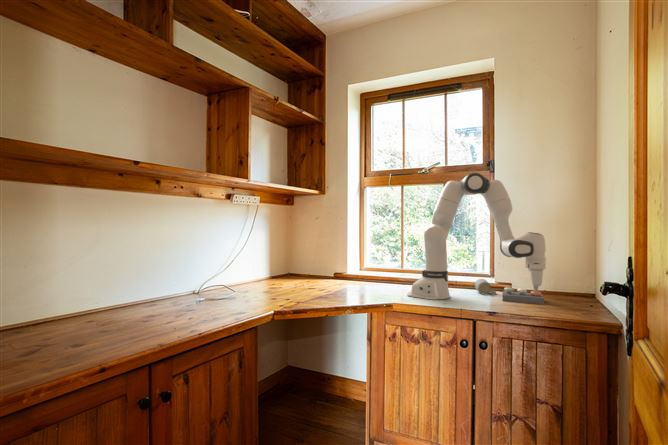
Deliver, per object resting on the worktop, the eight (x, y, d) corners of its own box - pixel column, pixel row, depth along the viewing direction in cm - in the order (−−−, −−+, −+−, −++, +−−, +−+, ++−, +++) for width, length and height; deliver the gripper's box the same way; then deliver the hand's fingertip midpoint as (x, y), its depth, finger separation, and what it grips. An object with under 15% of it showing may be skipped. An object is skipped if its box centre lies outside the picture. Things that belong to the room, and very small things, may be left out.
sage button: (504, 296, 176) (504, 288, 176) (504, 295, 180) (504, 287, 180) (513, 297, 174) (513, 289, 174) (513, 295, 178) (513, 287, 178)
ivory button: (517, 297, 174) (517, 289, 174) (517, 296, 177) (517, 287, 177) (527, 298, 172) (527, 290, 172) (526, 297, 175) (526, 288, 175)
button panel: (502, 300, 173) (502, 295, 173) (502, 296, 184) (502, 291, 184) (543, 304, 165) (543, 298, 165) (541, 299, 176) (541, 293, 176)
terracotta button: (531, 300, 171) (530, 292, 171) (530, 299, 175) (530, 290, 175) (541, 301, 169) (541, 293, 169) (540, 300, 173) (540, 291, 173)
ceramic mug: (478, 294, 190) (478, 280, 190) (474, 291, 198) (474, 278, 198) (498, 295, 188) (498, 281, 188) (493, 292, 196) (494, 279, 197)
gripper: (527, 262, 183) (527, 288, 182) (529, 266, 164) (529, 295, 164) (541, 262, 180) (541, 289, 180) (544, 267, 162) (545, 296, 161)
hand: (535, 291), depth 172 cm, fingers closed, pressing on terracotta button
